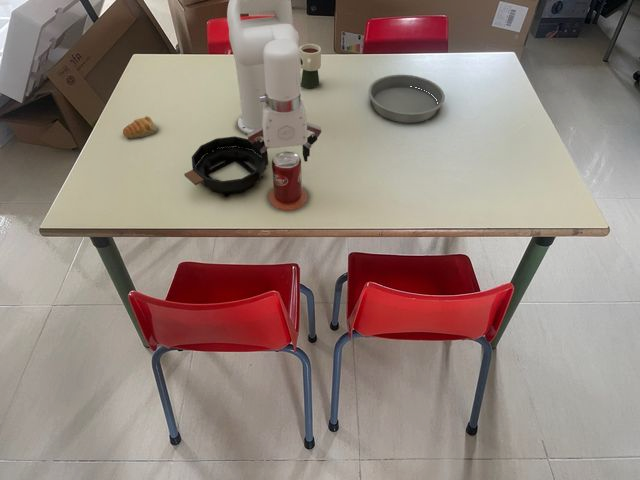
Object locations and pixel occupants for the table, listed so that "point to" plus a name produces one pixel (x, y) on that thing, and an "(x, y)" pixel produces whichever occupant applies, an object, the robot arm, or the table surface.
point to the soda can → (287, 177)
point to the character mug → (310, 64)
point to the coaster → (288, 206)
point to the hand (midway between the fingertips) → (285, 160)
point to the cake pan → (405, 98)
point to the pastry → (139, 128)
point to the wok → (232, 153)
